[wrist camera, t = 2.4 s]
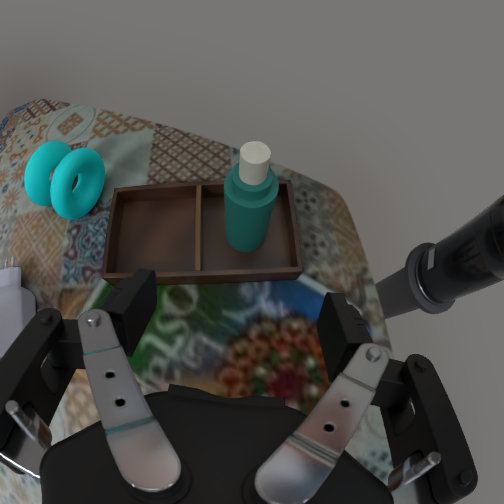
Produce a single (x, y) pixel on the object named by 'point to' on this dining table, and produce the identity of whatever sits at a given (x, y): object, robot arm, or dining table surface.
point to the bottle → (249, 197)
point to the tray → (195, 237)
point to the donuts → (65, 178)
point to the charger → (13, 306)
